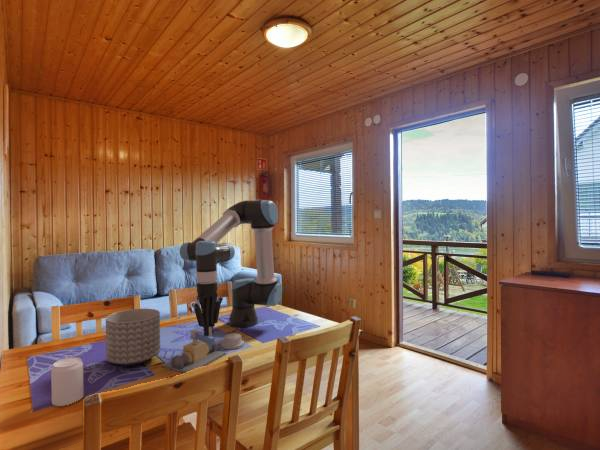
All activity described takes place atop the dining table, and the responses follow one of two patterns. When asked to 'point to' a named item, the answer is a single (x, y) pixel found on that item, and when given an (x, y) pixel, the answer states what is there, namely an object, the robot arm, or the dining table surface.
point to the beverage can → (67, 381)
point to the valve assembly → (194, 356)
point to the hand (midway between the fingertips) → (208, 343)
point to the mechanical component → (232, 341)
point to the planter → (132, 336)
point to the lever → (202, 337)
